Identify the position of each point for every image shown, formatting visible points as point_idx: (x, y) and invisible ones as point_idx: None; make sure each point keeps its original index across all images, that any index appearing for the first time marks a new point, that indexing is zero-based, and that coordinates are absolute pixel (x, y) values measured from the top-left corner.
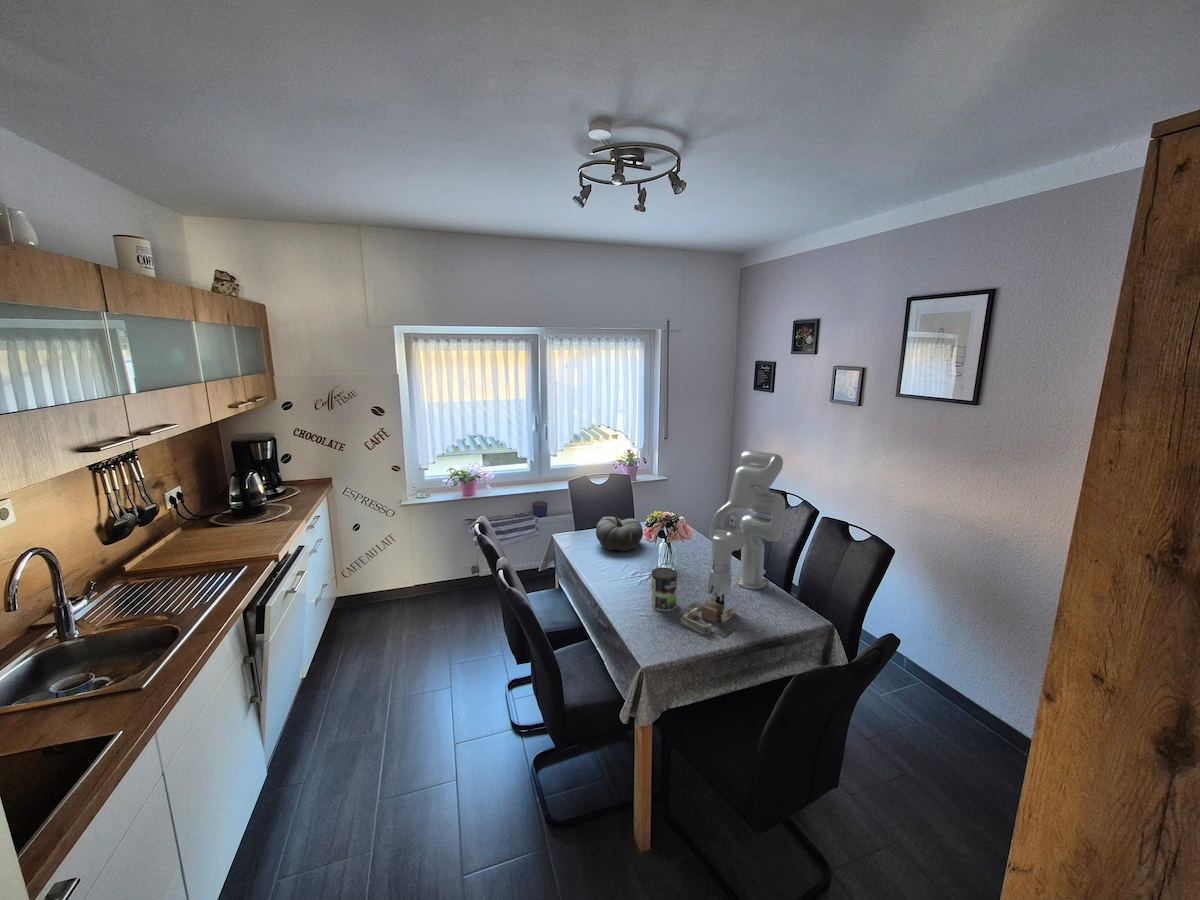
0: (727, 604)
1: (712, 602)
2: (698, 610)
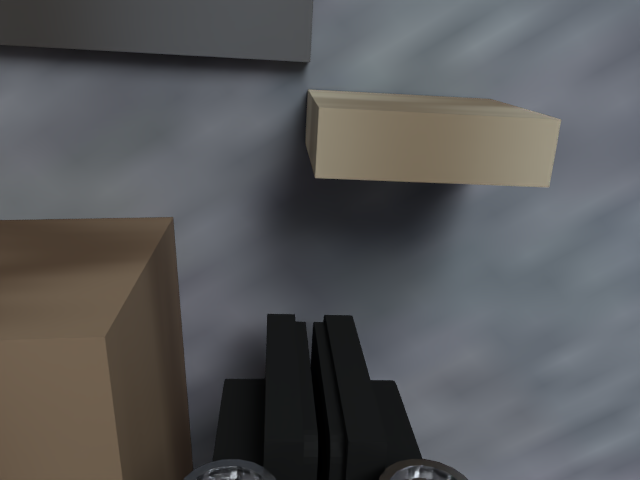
0: (627, 330)
1: (49, 466)
2: (1, 40)
